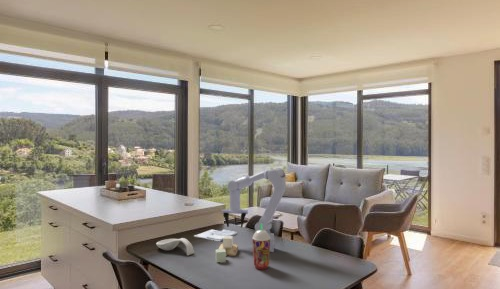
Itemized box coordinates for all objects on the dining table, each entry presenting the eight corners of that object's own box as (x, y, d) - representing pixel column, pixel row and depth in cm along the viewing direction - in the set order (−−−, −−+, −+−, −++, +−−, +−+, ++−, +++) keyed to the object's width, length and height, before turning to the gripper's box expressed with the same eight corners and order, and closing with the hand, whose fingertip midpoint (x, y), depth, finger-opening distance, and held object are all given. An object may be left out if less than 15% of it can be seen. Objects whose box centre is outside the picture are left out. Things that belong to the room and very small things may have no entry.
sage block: (224, 258, 169) (224, 248, 168) (225, 262, 164) (225, 251, 164) (215, 259, 168) (215, 249, 168) (216, 262, 163) (216, 252, 163)
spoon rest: (151, 249, 184) (151, 236, 183) (168, 243, 193) (168, 231, 193) (183, 258, 170) (183, 244, 170) (199, 251, 180) (199, 238, 180)
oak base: (237, 249, 182) (237, 244, 182) (235, 255, 173) (235, 249, 173) (221, 249, 183) (221, 243, 183) (218, 255, 174) (218, 249, 174)
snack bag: (220, 242, 196) (220, 239, 196) (192, 237, 207) (192, 234, 207) (238, 234, 212) (238, 231, 212) (212, 230, 223) (212, 227, 223)
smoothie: (264, 272, 152) (264, 227, 151) (248, 268, 156) (248, 224, 156) (273, 266, 159) (273, 223, 158) (258, 262, 163) (258, 220, 163)
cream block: (233, 245, 179) (233, 236, 179) (231, 248, 175) (231, 238, 175) (224, 245, 180) (224, 235, 180) (223, 248, 175) (223, 238, 175)
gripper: (220, 203, 186) (220, 228, 186) (247, 203, 185) (247, 228, 185) (222, 200, 193) (222, 225, 193) (248, 201, 192) (248, 225, 192)
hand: (234, 226), depth 189 cm, fingers open, 7 cm apart
